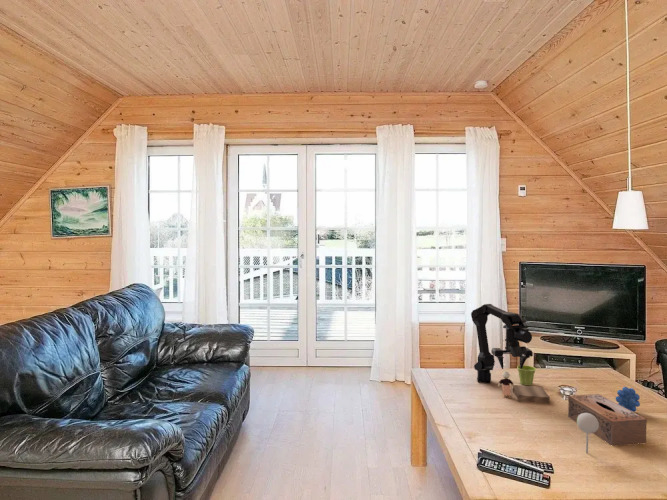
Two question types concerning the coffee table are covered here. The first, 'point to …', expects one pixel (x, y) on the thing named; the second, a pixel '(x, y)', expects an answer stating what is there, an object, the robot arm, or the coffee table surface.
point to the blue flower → (628, 398)
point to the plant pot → (526, 374)
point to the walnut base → (531, 394)
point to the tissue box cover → (610, 419)
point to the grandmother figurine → (506, 385)
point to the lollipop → (587, 425)
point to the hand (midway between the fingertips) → (511, 368)
